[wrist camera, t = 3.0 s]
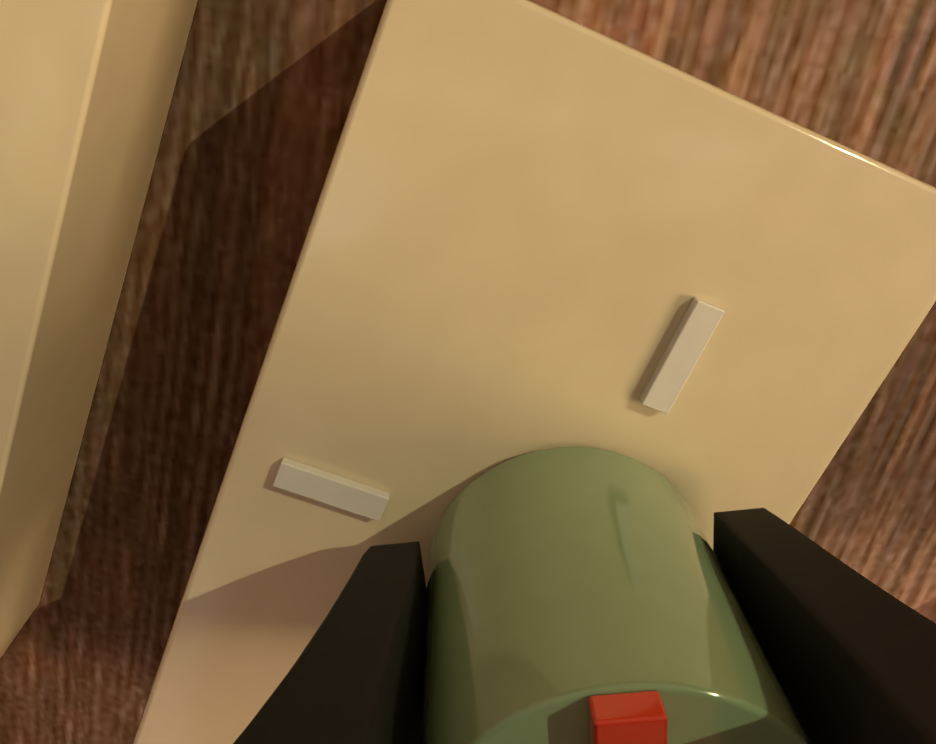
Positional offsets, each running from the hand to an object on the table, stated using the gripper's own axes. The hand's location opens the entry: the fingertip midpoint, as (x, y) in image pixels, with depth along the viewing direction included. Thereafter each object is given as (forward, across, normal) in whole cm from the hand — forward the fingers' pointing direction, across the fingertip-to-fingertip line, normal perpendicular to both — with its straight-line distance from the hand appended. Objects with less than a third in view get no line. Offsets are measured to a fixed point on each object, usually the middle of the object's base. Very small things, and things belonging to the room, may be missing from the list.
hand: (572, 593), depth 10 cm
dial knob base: (+4, +1, 0) cm, 4 cm away
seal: (+1, 0, 0) cm, 1 cm away
